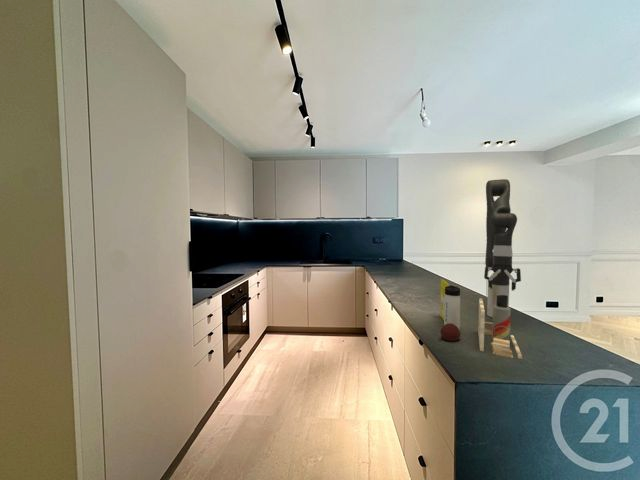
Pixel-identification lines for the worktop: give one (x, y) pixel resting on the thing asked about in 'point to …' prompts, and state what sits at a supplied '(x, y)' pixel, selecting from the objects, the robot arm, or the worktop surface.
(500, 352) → the offcut
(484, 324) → the rack
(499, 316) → the lotion bottle
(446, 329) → the potato
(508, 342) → the offcut
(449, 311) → the travel mug
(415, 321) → the worktop surface
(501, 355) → the offcut
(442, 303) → the food package
